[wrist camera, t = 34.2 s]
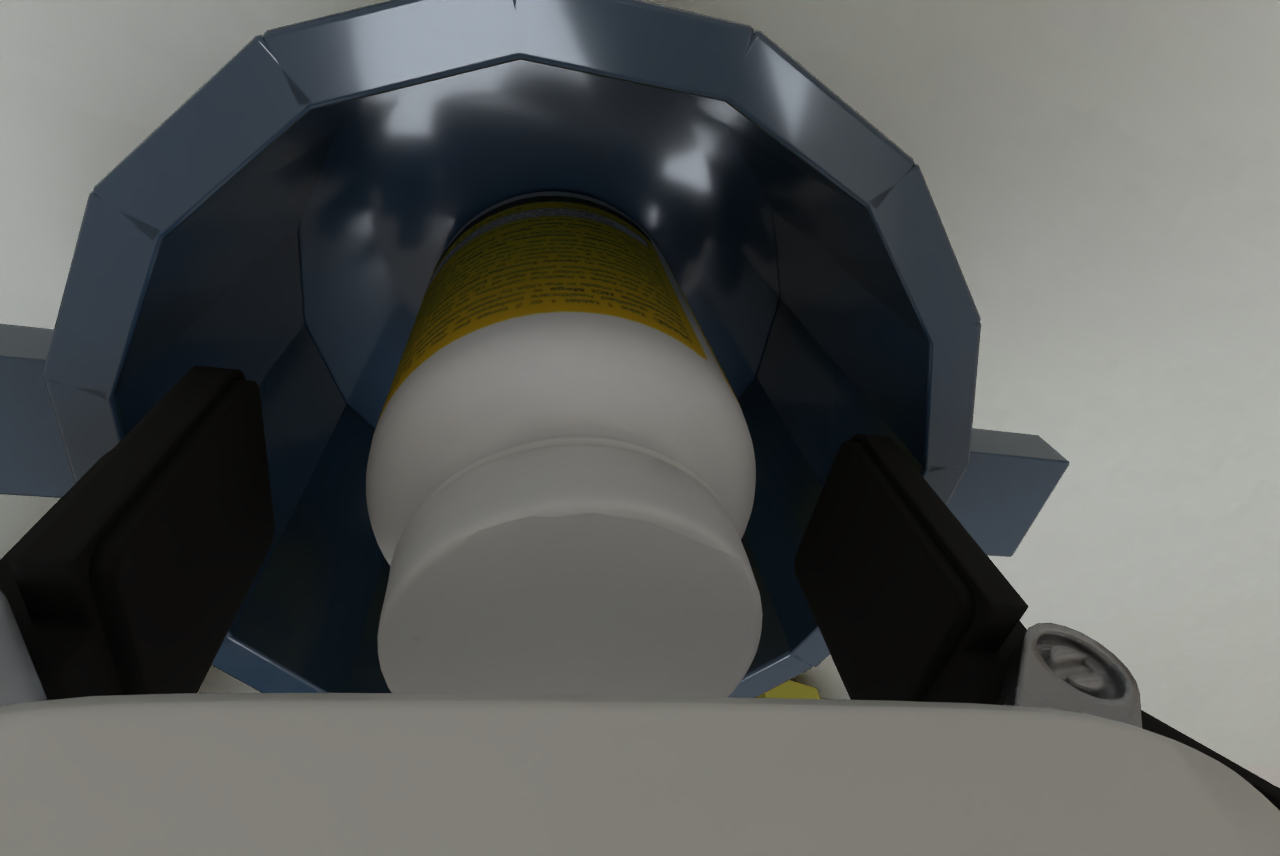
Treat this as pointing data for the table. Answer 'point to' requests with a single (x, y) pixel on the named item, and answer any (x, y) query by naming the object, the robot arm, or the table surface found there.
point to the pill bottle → (562, 472)
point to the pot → (430, 218)
